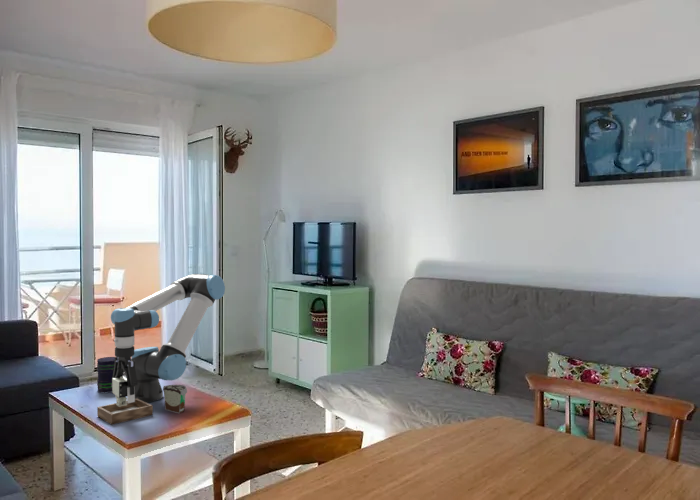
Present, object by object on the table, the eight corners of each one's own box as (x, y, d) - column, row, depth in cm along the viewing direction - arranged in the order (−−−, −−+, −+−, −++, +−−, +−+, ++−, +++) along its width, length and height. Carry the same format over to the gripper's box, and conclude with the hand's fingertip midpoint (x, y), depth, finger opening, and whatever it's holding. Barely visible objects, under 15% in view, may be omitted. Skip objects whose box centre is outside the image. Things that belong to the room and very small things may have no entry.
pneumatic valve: (120, 410, 228) (120, 380, 227) (110, 403, 237) (110, 374, 236) (134, 407, 232) (134, 378, 231) (124, 400, 240) (124, 372, 240)
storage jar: (115, 386, 280) (115, 355, 280) (122, 390, 273) (122, 359, 272) (94, 389, 274) (94, 358, 273) (100, 393, 266) (100, 362, 266)
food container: (193, 410, 242) (193, 387, 241) (181, 414, 237) (181, 390, 236) (174, 405, 249) (174, 382, 248) (162, 409, 244) (162, 385, 243)
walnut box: (137, 407, 245) (137, 398, 245) (152, 414, 236) (152, 405, 235) (97, 416, 233) (97, 407, 233) (111, 424, 223) (111, 414, 223)
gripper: (103, 343, 239) (104, 395, 239) (128, 351, 223) (128, 407, 223) (121, 341, 244) (121, 392, 245) (146, 349, 228) (146, 403, 229)
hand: (124, 399), depth 234 cm, fingers closed on pneumatic valve, 11 cm apart
